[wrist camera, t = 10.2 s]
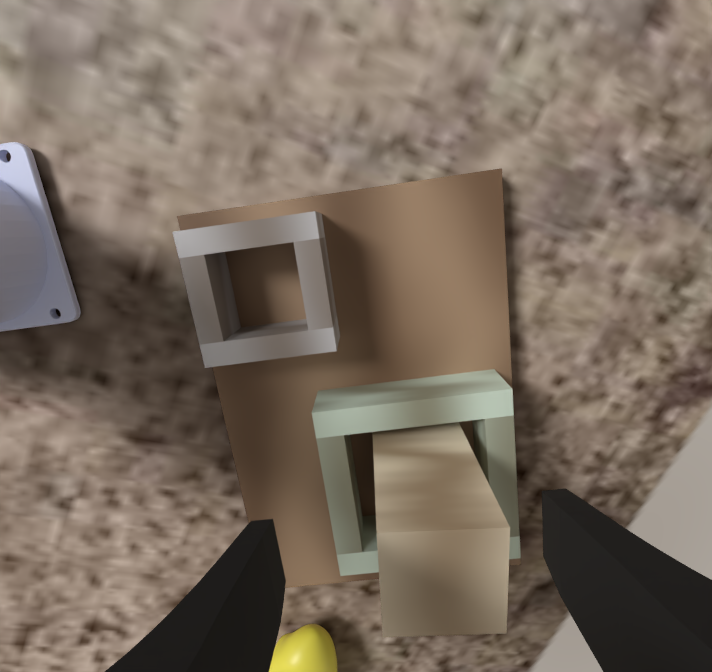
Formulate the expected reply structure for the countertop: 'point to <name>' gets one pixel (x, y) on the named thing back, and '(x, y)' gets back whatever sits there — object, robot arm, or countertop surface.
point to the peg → (438, 536)
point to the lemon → (305, 651)
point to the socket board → (353, 350)
